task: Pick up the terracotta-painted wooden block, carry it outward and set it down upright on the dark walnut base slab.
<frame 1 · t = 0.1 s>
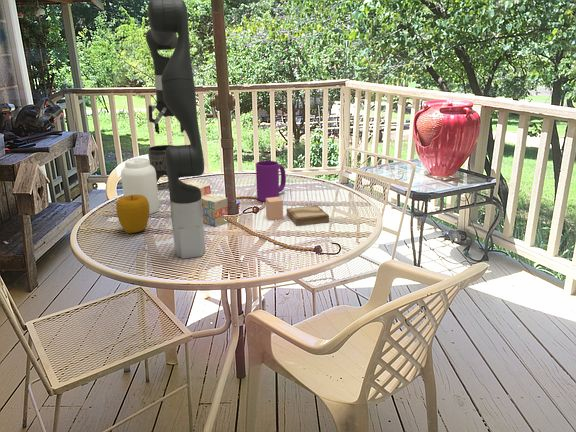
hand: (170, 132, 184), 29 cm above the table, fingers open, 8 cm apart
apple: (135, 231, 171), on the table
mug: (273, 197, 205), on the table
planter: (166, 187, 221), on the table
stack of blocks: (203, 218, 183), on the table
white jar: (143, 211, 191), on the table
block: (274, 217, 182), on the table
base: (307, 218, 181), on the table
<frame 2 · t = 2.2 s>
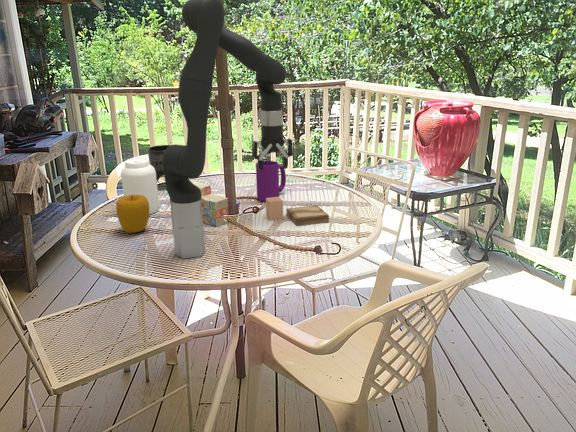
hand: (273, 169, 176), 18 cm above the table, fingers open, 8 cm apart
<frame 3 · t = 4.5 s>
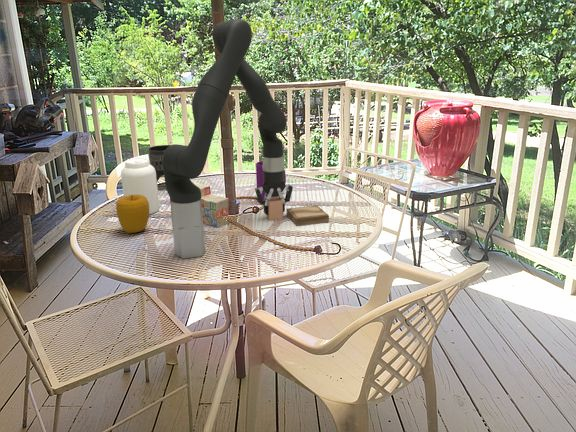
hand: (274, 213, 182), 1 cm above the table, fingers closed on block, 5 cm apart
block: (274, 217, 182), on the table, touching gripper
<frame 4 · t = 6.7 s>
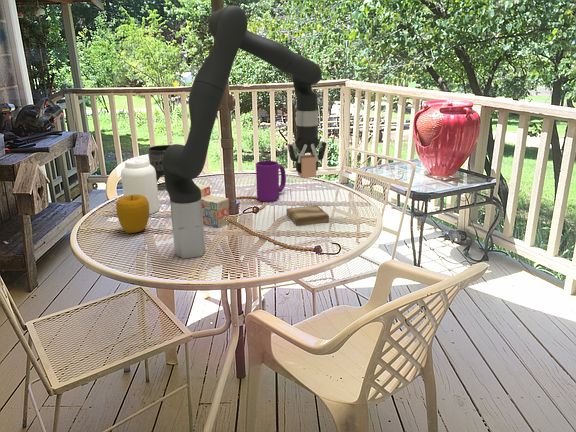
hand: (307, 171, 175), 17 cm above the table, fingers closed on block, 5 cm apart
block: (306, 175, 175), point 16 cm above the table, touching gripper
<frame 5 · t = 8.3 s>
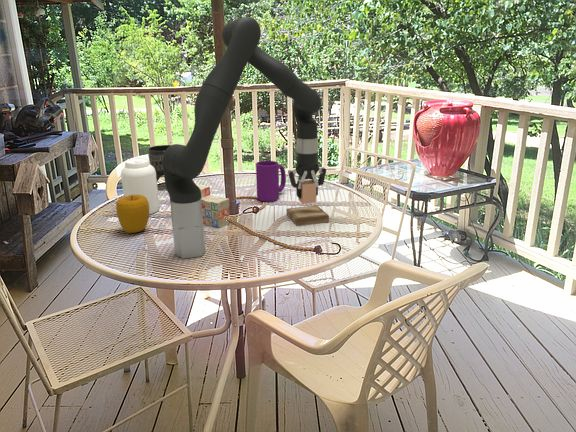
hand: (307, 197, 178), 8 cm above the table, fingers closed on block, 5 cm apart
block: (307, 200, 178), point 7 cm above the table, touching gripper
when the fingers open (5 cm above the table, at t = 9.4 s): block drops 1 cm, resting on base.
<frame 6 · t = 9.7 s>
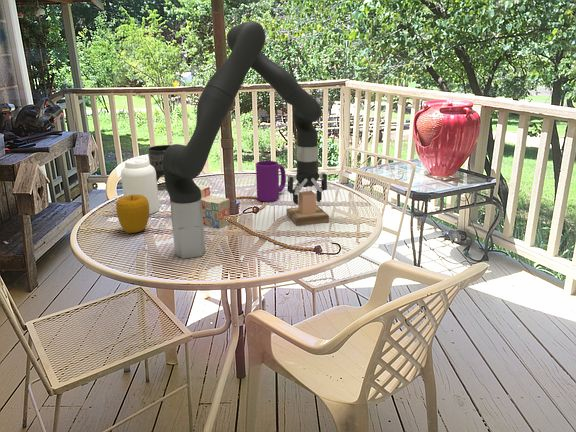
hand: (307, 202, 178), 6 cm above the table, fingers open, 8 cm apart
block: (307, 211, 180), point 3 cm above the table, touching base
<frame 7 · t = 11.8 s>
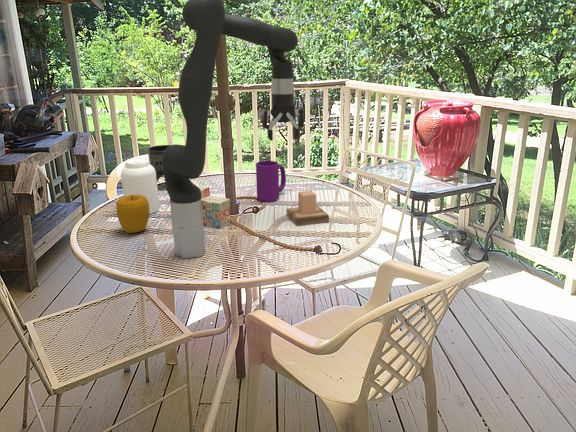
hand: (282, 139, 174), 28 cm above the table, fingers open, 8 cm apart
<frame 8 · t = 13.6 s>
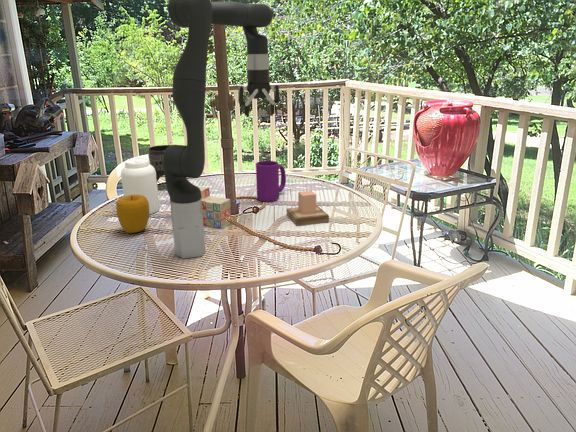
hand: (259, 116, 174), 36 cm above the table, fingers open, 8 cm apart
at the end: block inside the target area on the base (0.1 cm from its centre), point 2.6 cm above the base's base; block tilted 0°; the gripper is holding nothing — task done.
